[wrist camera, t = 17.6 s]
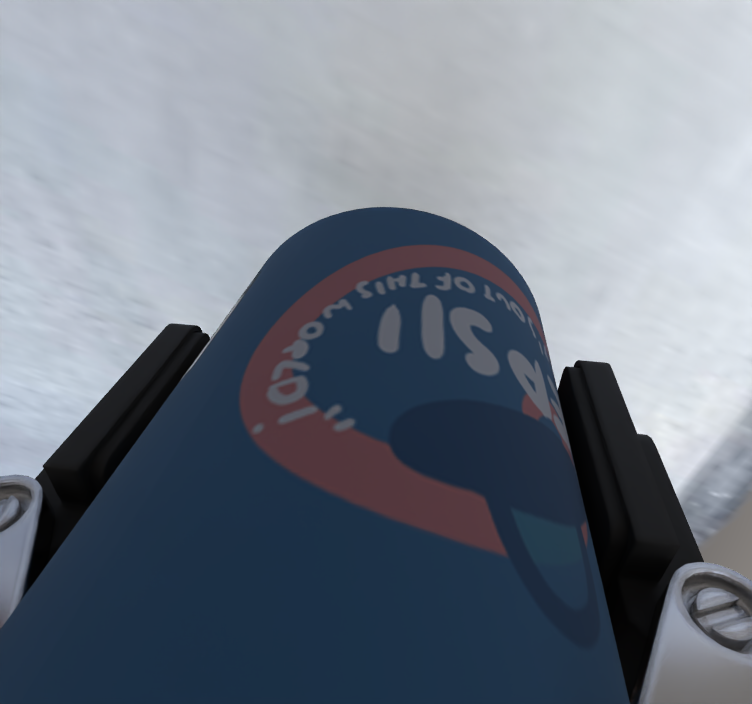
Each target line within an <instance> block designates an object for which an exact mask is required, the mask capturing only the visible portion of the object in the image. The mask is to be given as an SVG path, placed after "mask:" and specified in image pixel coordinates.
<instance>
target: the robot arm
mask: <svg viewBox="0 0 752 704" xmlns="http://www.w3.org/2000/svg"><path fill="white" fill-rule="evenodd" d="M209 340H210V337H209V335H208V334H206V333H202V330H201V328H200V327H198V326H195V325H184V324H169V325H168V326H166V327H165V329H164V330H163V331H162V332H161V333H160V334H159V335H158V336H157V338H156V339H155V340H154V341H153V342H152V343H151V344H150V346H149V347H148V348H147V349H146V350H145V351H144V352H143V353H142V355H141V356H140V357H139V358H138V359H137V360H136V361H135V362H134V364H133V365H132V366H131V367H130V368H129V369H128V370H127V371H126V373H125V374H124V375H123V376H122V377H121V378H120V379H119V380H118V382H117V383H116V384H115V385H114V386H113V387H112V388H111V389H110V391H109V392H108V393H107V394H106V395H105V396H104V397H103V398H102V400H101V401H100V402H99V403H98V404H97V405H96V406H95V407H94V409H93V410H92V411H91V412H90V413H89V414H88V415H87V416H86V418H85V419H84V420H83V421H82V422H81V423H80V424H79V426H78V427H77V428H76V429H75V430H74V431H73V432H72V433H71V435H70V436H69V437H68V438H67V439H66V440H65V441H64V442H63V444H62V445H61V446H60V447H59V448H58V449H57V450H56V451H55V453H54V454H53V455H52V456H51V457H50V458H49V459H48V460H47V462H46V463H45V464H44V465H43V468H44V469H43V470H42V472H41V473H40V474H39V475H38V476H37V477H36V478H35V479H33V478H31V477H29V476H23V475H9V476H1V477H0V629H1V628H2V626H3V625H4V624H5V622H6V621H7V619H8V618H9V617H10V615H11V614H12V613H13V611H14V610H15V608H16V607H17V606H18V604H19V603H20V601H21V600H22V599H23V597H24V596H25V595H26V593H27V592H28V590H29V589H30V588H31V586H32V585H33V584H34V582H35V581H36V579H37V578H38V577H39V575H40V574H41V572H42V571H43V570H44V568H45V567H46V566H47V564H48V563H49V561H50V560H51V559H52V557H53V556H54V554H55V553H56V552H57V550H58V549H59V548H60V546H61V545H62V543H63V542H64V541H65V539H66V538H67V537H68V535H69V534H70V532H71V531H72V530H73V528H74V527H75V525H76V524H77V523H78V521H79V520H80V519H81V517H82V516H83V514H84V513H85V512H86V510H87V509H88V507H89V506H90V505H91V503H92V502H93V501H94V499H95V498H96V496H97V495H98V494H99V492H100V491H101V489H102V488H103V487H104V485H105V484H106V483H107V481H108V480H109V478H110V477H111V476H112V474H113V473H114V472H115V470H116V469H117V467H118V466H119V465H120V463H121V462H122V460H123V459H124V458H125V456H126V455H127V454H128V452H129V451H130V449H131V448H132V447H133V445H134V444H135V442H136V441H137V440H138V438H139V437H140V436H141V434H142V433H143V431H144V430H145V429H146V427H147V426H148V424H149V423H150V422H151V420H152V419H153V418H154V416H155V415H156V413H157V412H158V411H159V409H160V408H161V407H162V405H163V404H164V402H165V401H166V400H167V398H168V397H169V395H170V394H171V393H172V391H173V390H174V389H175V387H176V386H177V384H178V383H179V382H180V380H181V379H182V377H183V376H184V375H185V373H186V372H187V371H188V369H189V368H190V366H191V365H192V364H193V362H194V361H195V359H196V358H197V357H198V355H199V354H200V353H201V351H202V350H203V348H204V347H205V346H206V344H207V343H208V342H209ZM558 395H559V400H560V404H561V408H562V412H563V417H564V421H565V425H566V430H567V434H568V438H569V443H570V447H571V451H572V456H573V460H574V464H575V468H576V473H577V477H578V481H579V486H580V490H581V494H582V499H583V503H584V507H585V511H586V516H587V520H588V524H589V529H590V533H591V537H592V542H593V546H594V550H595V555H596V559H597V563H598V567H599V572H600V576H601V580H602V585H603V589H604V593H605V598H606V602H607V606H608V610H609V615H610V619H611V623H612V628H613V632H614V636H615V641H616V645H617V649H618V654H619V658H620V662H621V666H622V671H623V675H624V679H625V684H626V688H627V692H628V697H629V701H630V704H752V581H751V580H749V579H747V578H746V577H744V576H742V575H741V574H739V573H737V572H735V571H734V570H731V569H728V568H726V567H723V566H720V565H717V564H712V563H705V562H704V561H703V558H702V556H701V553H700V551H699V548H698V546H697V544H696V541H695V539H694V537H693V534H692V532H691V529H690V527H689V525H688V522H687V520H686V517H685V515H684V513H683V510H682V508H681V505H680V503H679V501H678V498H677V496H676V494H675V491H674V489H673V486H672V484H671V482H670V479H669V477H668V474H667V472H666V470H665V467H664V465H663V462H662V460H661V458H660V455H659V453H658V451H657V448H656V446H655V444H654V442H653V440H652V439H651V438H650V437H649V436H648V435H643V434H637V432H636V430H635V427H634V425H633V422H632V419H631V417H630V414H629V412H628V409H627V407H626V404H625V401H624V399H623V396H622V394H621V391H620V389H619V386H618V383H617V381H616V378H615V376H614V373H613V371H612V368H611V366H610V364H608V363H603V362H592V361H581V360H578V361H576V363H575V365H574V367H565V369H564V371H563V373H562V377H561V381H560V384H559V388H558Z"/></svg>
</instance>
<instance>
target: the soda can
mask: <svg viewBox="0 0 752 704" xmlns="http://www.w3.org/2000/svg"><path fill="white" fill-rule="evenodd" d="M0 704H630V701H629V697H628V692H627V688H626V684H625V679H624V675H623V671H622V666H621V662H620V658H619V654H618V649H617V645H616V641H615V636H614V632H613V628H612V623H611V619H610V615H609V610H608V606H607V602H606V598H605V593H604V589H603V585H602V580H601V576H600V572H599V567H598V563H597V559H596V555H595V550H594V546H593V542H592V537H591V533H590V529H589V524H588V520H587V516H586V511H585V507H584V503H583V499H582V494H581V490H580V486H579V481H578V477H577V473H576V468H575V464H574V460H573V456H572V451H571V447H570V443H569V438H568V434H567V430H566V425H565V421H564V417H563V412H562V408H561V404H560V400H559V395H558V391H557V387H556V382H555V378H554V374H553V369H552V365H551V361H550V357H549V352H548V348H547V344H546V339H545V335H544V331H543V326H542V322H541V318H540V314H539V311H538V307H537V305H536V302H535V299H534V297H533V295H532V293H531V291H530V289H529V287H528V285H527V284H526V282H525V280H524V279H523V277H522V276H521V274H520V273H519V272H518V270H517V269H516V268H515V266H514V265H513V264H512V263H511V262H510V261H509V260H508V258H507V257H506V256H505V255H504V254H503V253H501V252H500V251H499V250H498V249H497V248H496V247H495V246H493V245H492V244H491V243H490V242H488V241H487V240H486V239H484V238H483V237H481V236H480V235H478V234H477V233H475V232H474V231H472V230H470V229H468V228H466V227H465V226H463V225H460V224H458V223H456V222H454V221H452V220H449V219H446V218H444V217H441V216H438V215H435V214H431V213H427V212H423V211H418V210H413V209H406V208H395V207H373V208H364V209H356V210H351V211H346V212H342V213H339V214H335V215H332V216H329V217H327V218H324V219H321V220H319V221H317V222H315V223H313V224H311V225H309V226H307V227H305V228H304V229H302V230H300V231H299V232H297V233H296V234H294V235H293V236H292V237H290V238H289V239H288V240H286V241H285V242H284V243H283V244H282V245H281V246H280V247H279V248H278V249H277V250H276V251H275V252H274V253H273V254H272V255H271V256H270V258H269V259H268V260H267V261H266V263H265V264H264V265H263V267H262V268H261V270H260V271H259V272H258V274H257V275H256V277H255V278H254V279H253V281H252V282H251V283H250V285H249V286H248V288H247V289H246V290H245V292H244V293H243V294H242V296H241V297H240V299H239V300H238V301H237V303H236V304H235V306H234V307H233V308H232V310H231V311H230V312H229V314H228V315H227V317H226V318H225V319H224V321H223V322H222V324H221V325H220V326H219V328H218V329H217V330H216V332H215V333H214V335H213V336H212V337H211V339H210V340H209V342H208V343H207V344H206V346H205V347H204V348H203V350H202V351H201V353H200V354H199V355H198V357H197V358H196V359H195V361H194V362H193V364H192V365H191V366H190V368H189V369H188V371H187V372H186V373H185V375H184V376H183V377H182V379H181V380H180V382H179V383H178V384H177V386H176V387H175V389H174V390H173V391H172V393H171V394H170V395H169V397H168V398H167V400H166V401H165V402H164V404H163V405H162V407H161V408H160V409H159V411H158V412H157V413H156V415H155V416H154V418H153V419H152V420H151V422H150V423H149V424H148V426H147V427H146V429H145V430H144V431H143V433H142V434H141V436H140V437H139V438H138V440H137V441H136V442H135V444H134V445H133V447H132V448H131V449H130V451H129V452H128V454H127V455H126V456H125V458H124V459H123V460H122V462H121V463H120V465H119V466H118V467H117V469H116V470H115V472H114V473H113V474H112V476H111V477H110V478H109V480H108V481H107V483H106V484H105V485H104V487H103V488H102V489H101V491H100V492H99V494H98V495H97V496H96V498H95V499H94V501H93V502H92V503H91V505H90V506H89V507H88V509H87V510H86V512H85V513H84V514H83V516H82V517H81V519H80V520H79V521H78V523H77V524H76V525H75V527H74V528H73V530H72V531H71V532H70V534H69V535H68V537H67V538H66V539H65V541H64V542H63V543H62V545H61V546H60V548H59V549H58V550H57V552H56V553H55V554H54V556H53V557H52V559H51V560H50V561H49V563H48V564H47V566H46V567H45V568H44V570H43V571H42V572H41V574H40V575H39V577H38V578H37V579H36V581H35V582H34V584H33V585H32V586H31V588H30V589H29V590H28V592H27V593H26V595H25V596H24V597H23V599H22V600H21V601H20V603H19V604H18V606H17V607H16V608H15V610H14V611H13V613H12V614H11V615H10V617H9V618H8V619H7V621H6V622H5V624H4V625H3V626H2V628H1V629H0Z"/></svg>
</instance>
